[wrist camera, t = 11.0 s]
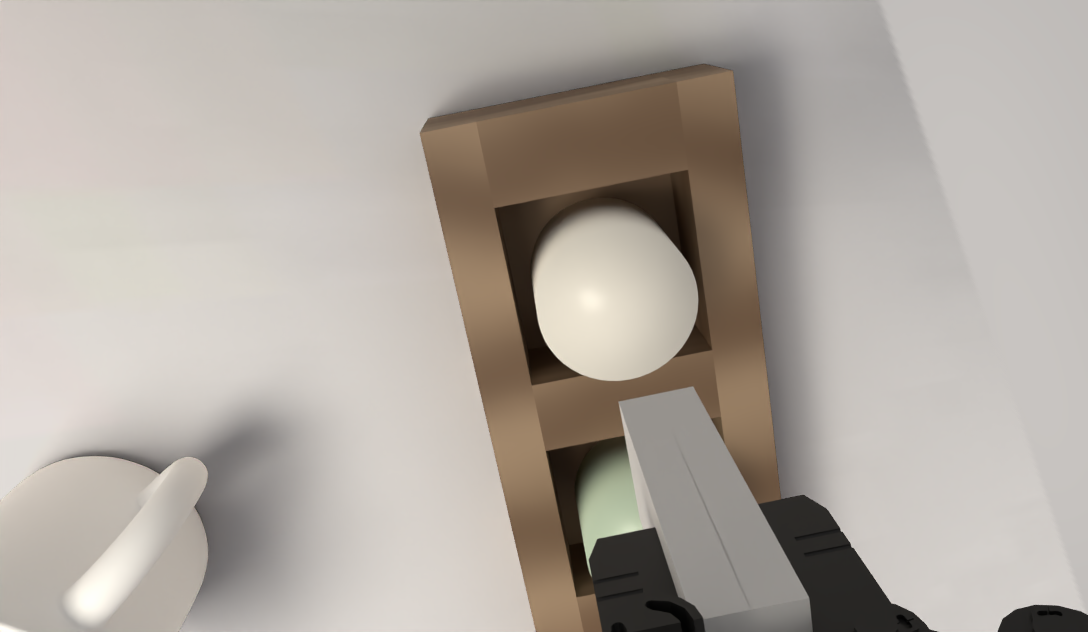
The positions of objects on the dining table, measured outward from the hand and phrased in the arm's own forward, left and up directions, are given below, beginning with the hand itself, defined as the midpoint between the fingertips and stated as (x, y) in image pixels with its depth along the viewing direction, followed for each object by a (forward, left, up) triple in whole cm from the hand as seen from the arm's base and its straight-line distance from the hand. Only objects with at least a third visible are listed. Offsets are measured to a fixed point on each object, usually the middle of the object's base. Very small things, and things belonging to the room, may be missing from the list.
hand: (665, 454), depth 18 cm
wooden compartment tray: (+9, 0, -17) cm, 19 cm away
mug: (+7, -20, -17) cm, 27 cm away
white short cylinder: (0, 0, -14) cm, 14 cm away
